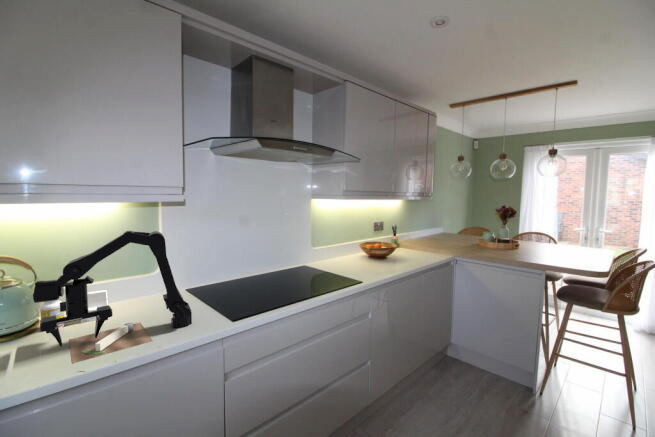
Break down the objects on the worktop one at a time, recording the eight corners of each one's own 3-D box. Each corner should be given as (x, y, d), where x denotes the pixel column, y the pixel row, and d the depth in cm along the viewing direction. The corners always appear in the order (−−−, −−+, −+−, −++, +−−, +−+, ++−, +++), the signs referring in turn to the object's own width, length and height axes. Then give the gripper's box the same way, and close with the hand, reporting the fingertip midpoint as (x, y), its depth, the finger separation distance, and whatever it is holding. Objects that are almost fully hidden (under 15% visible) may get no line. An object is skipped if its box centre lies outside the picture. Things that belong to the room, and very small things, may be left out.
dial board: (140, 325, 123) (140, 321, 122) (153, 344, 108) (152, 340, 108) (69, 343, 108) (68, 338, 108) (72, 368, 93) (72, 363, 93)
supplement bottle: (39, 329, 118) (37, 297, 117) (61, 323, 124) (59, 292, 123) (44, 334, 114) (42, 300, 113) (67, 327, 120) (65, 296, 119)
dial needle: (127, 328, 116) (127, 321, 116) (135, 329, 116) (134, 322, 116) (93, 351, 100) (93, 343, 100) (102, 351, 100) (102, 343, 99)
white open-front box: (80, 326, 121) (78, 297, 120) (82, 318, 128) (81, 291, 127) (107, 321, 126) (106, 293, 125) (108, 314, 133) (107, 287, 132)
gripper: (106, 286, 115) (108, 326, 116) (38, 297, 102) (41, 341, 104) (111, 293, 107) (113, 336, 108) (38, 306, 94) (41, 354, 96)
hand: (79, 341), depth 104 cm, fingers open, 9 cm apart
